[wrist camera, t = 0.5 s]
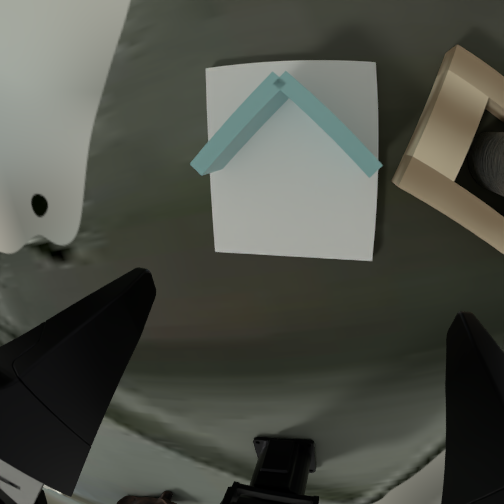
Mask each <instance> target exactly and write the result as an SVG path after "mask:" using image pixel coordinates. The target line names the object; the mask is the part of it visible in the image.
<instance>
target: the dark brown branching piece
mask: <svg viewBox="0 0 504 504" xmlns="http://www.w3.org/2000/svg"><path fill="white" fill-rule="evenodd" d="M172 495H173V493H172V492H169V491H164V492H163V493H162V495H161V497H159V498H153V497H135V496H125V497H123V498H122V499H120V500H119V501H118V502H117V504H176V503H174V502H171V497H172Z"/></svg>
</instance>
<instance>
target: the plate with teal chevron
mask: <svg viewBox="0 0 504 504" xmlns="http://www.w3.org/2000/svg"><path fill="white" fill-rule="evenodd" d="M206 94H207V121H208V143H207V144H206V145H205V146H204V147H203V149H202V150H201V151H200V152H199V153H198V155H197V156H196V157H195V158H194V159H193V161H192V162H191V163H190V165H191V166H192V167H193V168H194V169H195V170H196V171H197V172H198V173H199V174H200V175H201V176H202V175H205V174H209V173H210V181H211V198H212V214H213V228H214V242H215V252H227V253H244V254H261V255H278V256H295V257H312V258H329V259H346V260H363V261H372V256H373V246H374V234H375V221H376V206H377V185H378V170H379V169H380V168H381V167H382V166H383V165H382V164H381V163H380V162H379V161H378V95H377V75H376V62H364V61H340V60H298V61H275V62H260V63H248V64H238V65H229V66H220V67H213V68H206Z"/></svg>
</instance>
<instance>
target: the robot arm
mask: <svg viewBox="0 0 504 504" xmlns="http://www.w3.org/2000/svg"><path fill="white" fill-rule="evenodd" d="M155 296H156V288H155V285H154V281H153V278H152V275H151V272H150V271H149V270H148V269H144V268H135V269H133V270H132V271H130V272H128V273H126V274H124V275H123V276H121V277H119V278H117V279H116V280H114V281H112V282H110V283H109V284H107V285H105V286H104V287H102V288H100V289H98V290H97V291H95V292H93V293H92V294H90V295H88V296H86V297H85V298H83V299H81V300H80V301H78V302H76V303H75V304H73V305H71V306H70V307H68V308H66V309H65V310H63V311H61V312H60V313H58V314H56V315H55V316H53V317H51V318H50V319H48V320H46V322H43V323H41V324H40V325H38V326H37V327H35V328H33V329H32V330H30V331H28V332H27V333H25V334H23V335H21V336H20V337H18V338H16V339H14V340H12V341H10V342H8V343H7V344H5V345H3V346H1V347H0V504H47V500H46V497H45V493H44V490H42V488H43V485H44V484H45V485H47V486H49V487H51V488H53V489H55V490H57V491H59V492H61V493H63V494H65V495H68V496H70V497H71V496H72V494H73V491H74V489H75V486H76V483H77V481H78V478H79V476H80V473H81V471H82V468H83V466H84V463H85V461H86V458H87V456H88V453H89V451H90V448H91V445H92V443H93V441H94V438H95V436H96V434H97V431H98V429H99V427H100V424H101V422H102V420H103V417H104V415H105V413H106V410H107V408H108V406H109V404H110V401H111V399H112V397H113V395H114V392H115V390H116V388H117V386H118V384H119V381H120V379H121V377H122V375H123V373H124V371H125V369H126V366H127V364H128V362H129V360H130V358H131V356H132V354H133V352H134V350H135V347H136V345H137V343H138V341H139V339H140V337H141V334H142V332H143V329H144V326H145V323H146V321H147V318H148V315H149V312H150V310H151V307H152V304H153V302H154V299H155ZM445 393H446V454H445V471H444V484H443V494H442V503H441V504H504V353H503V351H502V350H501V349H500V347H499V346H498V345H497V343H496V342H495V341H494V339H493V338H492V337H491V336H490V334H489V333H488V332H487V330H486V329H485V328H484V327H483V325H482V324H481V323H480V322H479V320H478V319H477V318H476V317H475V316H474V314H473V313H471V312H463V311H460V312H458V313H457V315H456V317H455V319H454V321H453V322H452V324H451V326H450V328H449V330H448V333H447V339H446V380H445ZM253 443H254V447H255V450H256V453H257V457H258V461H257V464H256V467H255V470H254V473H253V476H252V479H251V482H250V485H244V484H240V483H239V482H235V481H234V483H233V485H232V487H228V489H227V491H226V494H225V496H224V498H223V500H222V502H221V503H220V504H318V503H319V496H307V495H304V494H305V489H306V484H307V479H308V474H309V473H313V472H315V471H316V462H315V447H314V441H312V440H297V439H277V438H263V437H255V438H254V440H253Z"/></svg>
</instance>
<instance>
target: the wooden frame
mask: <svg viewBox="0 0 504 504" xmlns="http://www.w3.org/2000/svg"><path fill="white" fill-rule="evenodd" d="M484 109H486V110H488V111H489V112H490V113H492V114H493V115H494V116H495V117H497V118H498V119H499V120H501V121H502V122H503V123H504V77H503V76H502V75H501V74H500V73H498V72H497V71H496V70H494V69H493V68H492V67H490V66H489V65H487V64H486V63H485V62H483V61H482V60H480V59H479V58H478V57H476V56H475V55H473V54H472V53H470V52H469V51H467V50H466V49H464V48H463V47H461V46H459V45H458V44H457V45H456V46H455V47H453V48H452V49H450V50H449V51H448V52H446V53H445V56H444V58H443V61H442V64H441V67H440V69H439V72H438V75H437V77H436V80H435V82H434V85H433V87H432V90H431V92H430V95H429V97H428V100H427V102H426V105H425V107H424V110H423V112H422V114H421V117H420V119H419V121H418V124H417V126H416V128H415V131H414V133H413V135H412V137H411V140H410V142H409V144H408V146H407V148H406V151H405V153H404V155H403V157H402V159H401V161H400V164H399V166H398V168H397V170H396V172H395V174H394V176H393V178H392V180H391V181H392V182H393V183H394V184H395V185H397V186H398V187H399V188H401V189H403V190H405V191H406V192H408V193H410V194H412V195H413V196H415V197H417V198H419V199H420V200H422V201H424V202H425V203H427V204H429V205H430V206H432V207H434V208H435V209H437V210H439V211H440V212H442V213H443V214H445V215H447V216H448V217H450V218H451V219H453V220H454V221H456V222H458V223H459V224H461V225H462V226H464V227H465V228H467V229H468V230H470V231H471V232H473V233H474V234H476V235H477V236H479V237H480V238H482V239H483V240H484V241H486V242H487V243H489V244H490V245H492V246H493V247H494V248H496V249H497V250H498V251H500V252H501V253H503V254H504V217H503V216H502V215H500V214H499V213H498V212H496V211H495V210H494V209H492V208H491V207H490V206H488V205H487V204H485V203H484V202H483V201H481V200H480V199H478V198H477V197H476V196H474V195H473V194H471V193H470V192H468V191H467V190H466V189H464V188H463V187H461V186H460V185H458V184H457V183H455V182H454V181H455V179H456V176H457V174H458V172H459V170H460V168H461V166H462V163H463V161H464V159H465V157H466V154H467V152H468V150H469V147H470V145H471V143H472V140H473V138H474V135H475V133H476V130H477V128H478V125H479V123H480V120H481V117H482V115H483V112H484Z"/></svg>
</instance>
